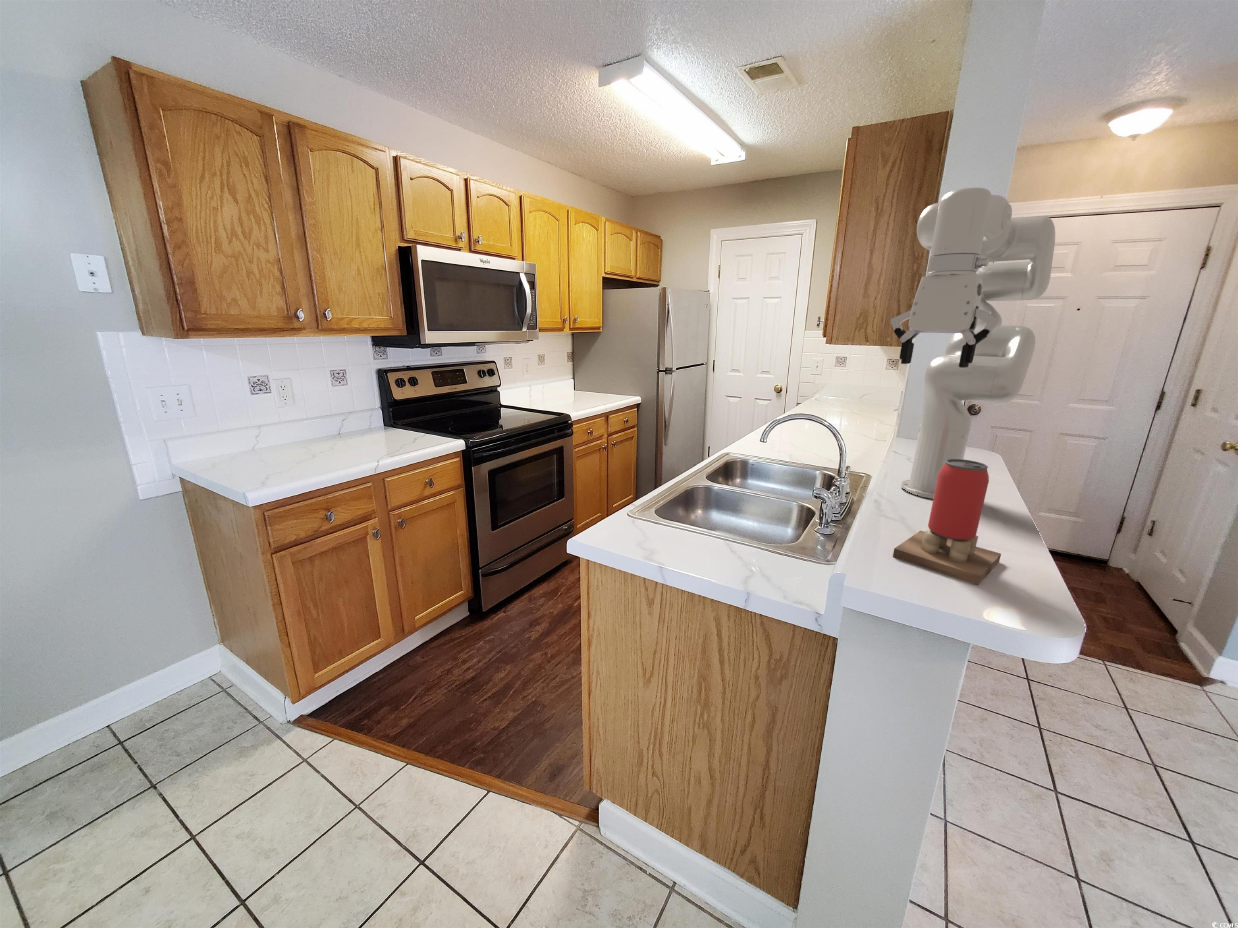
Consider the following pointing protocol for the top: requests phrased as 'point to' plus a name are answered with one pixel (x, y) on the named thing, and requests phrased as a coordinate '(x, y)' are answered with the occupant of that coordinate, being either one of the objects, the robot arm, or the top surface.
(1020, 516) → the top surface
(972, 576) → the peg stand
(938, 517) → the beer can
